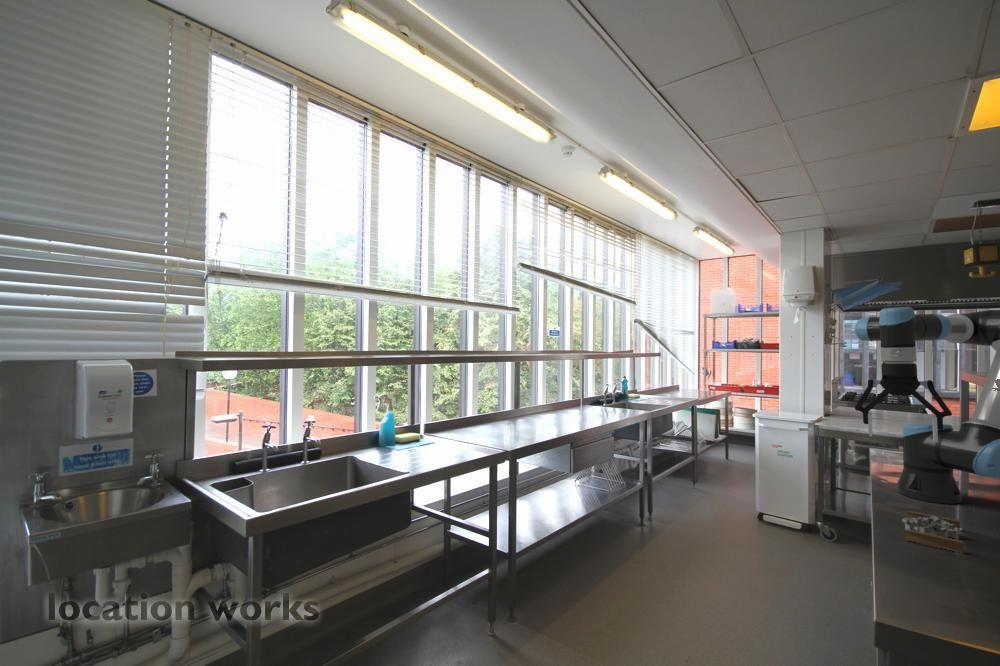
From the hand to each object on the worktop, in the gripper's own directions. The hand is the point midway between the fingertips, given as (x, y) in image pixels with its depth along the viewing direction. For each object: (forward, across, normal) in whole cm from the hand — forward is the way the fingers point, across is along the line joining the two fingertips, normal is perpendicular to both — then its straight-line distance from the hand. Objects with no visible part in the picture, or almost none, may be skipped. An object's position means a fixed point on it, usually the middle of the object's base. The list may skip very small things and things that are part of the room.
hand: (902, 438), depth 127 cm
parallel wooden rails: (+22, +5, -11) cm, 25 cm away
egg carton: (+22, +4, -10) cm, 25 cm away
